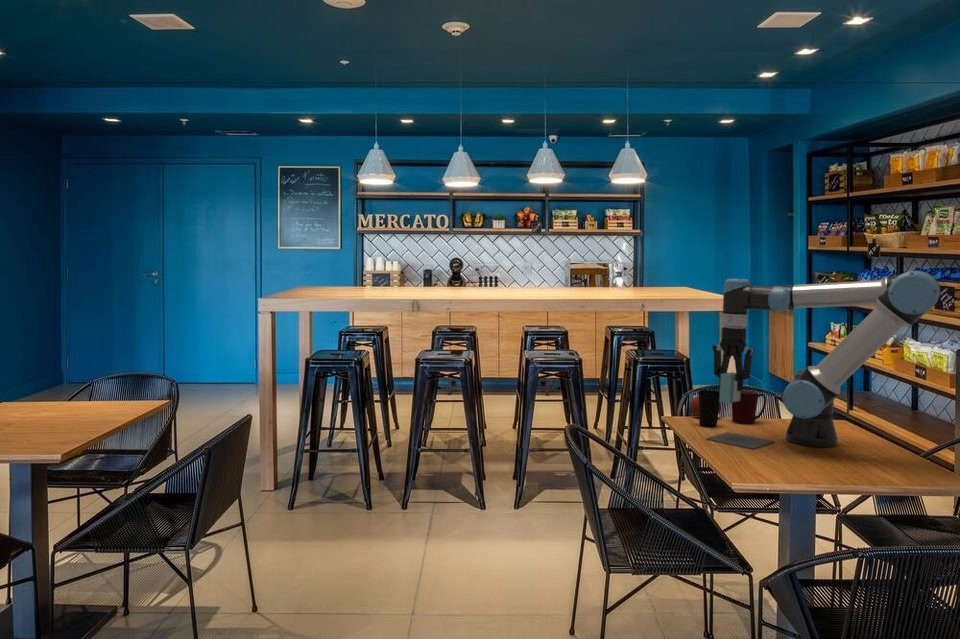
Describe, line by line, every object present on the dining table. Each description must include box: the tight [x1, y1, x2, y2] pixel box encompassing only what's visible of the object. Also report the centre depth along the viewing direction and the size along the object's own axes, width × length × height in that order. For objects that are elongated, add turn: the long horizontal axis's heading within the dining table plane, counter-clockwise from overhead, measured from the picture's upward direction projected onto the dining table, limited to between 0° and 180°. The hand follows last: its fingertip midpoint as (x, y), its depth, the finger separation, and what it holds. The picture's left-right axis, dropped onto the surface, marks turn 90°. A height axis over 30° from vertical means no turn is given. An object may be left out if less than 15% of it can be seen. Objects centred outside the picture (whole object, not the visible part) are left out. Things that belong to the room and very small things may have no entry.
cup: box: [697, 389, 721, 429], centre depth 255 cm, size 8×8×12 cm
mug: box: [731, 389, 767, 425], centre depth 262 cm, size 12×9×11 cm
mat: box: [705, 431, 775, 451], centre depth 234 cm, size 14×16×1 cm
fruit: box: [690, 395, 722, 417], centre depth 269 cm, size 11×10×8 cm
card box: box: [719, 371, 741, 404], centre depth 235 cm, size 4×7×9 cm, turn 133°
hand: (730, 399), depth 236 cm, fingers closed on card box, 4 cm apart
